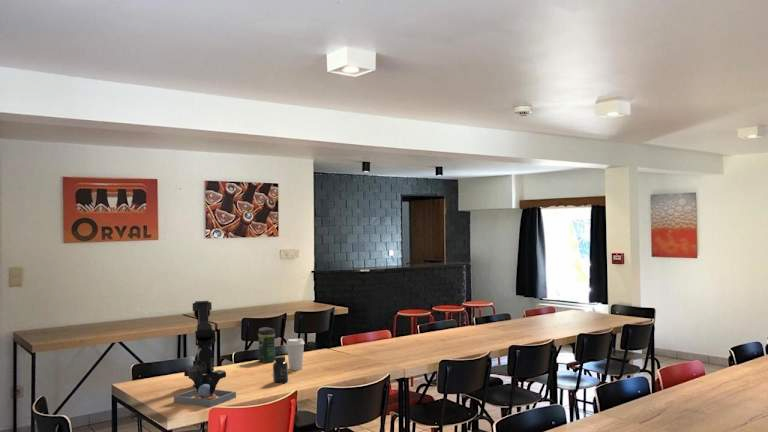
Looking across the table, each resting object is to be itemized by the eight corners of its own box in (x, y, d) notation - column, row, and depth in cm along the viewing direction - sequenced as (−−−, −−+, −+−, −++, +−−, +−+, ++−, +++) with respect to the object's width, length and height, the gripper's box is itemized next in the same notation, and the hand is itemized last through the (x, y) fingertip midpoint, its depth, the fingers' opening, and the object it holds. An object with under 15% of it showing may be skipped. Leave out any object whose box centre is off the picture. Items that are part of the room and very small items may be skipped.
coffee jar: (277, 361, 352) (277, 327, 353) (264, 363, 347) (264, 329, 348) (269, 359, 360) (268, 325, 360) (256, 360, 355) (255, 327, 355)
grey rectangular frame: (173, 401, 272) (173, 396, 272) (200, 393, 286) (200, 387, 286) (210, 407, 263) (210, 400, 263) (236, 397, 277) (235, 391, 277)
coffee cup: (301, 371, 327) (301, 341, 328) (283, 370, 329) (283, 341, 330) (307, 367, 337) (307, 338, 337) (290, 366, 339) (289, 338, 339)
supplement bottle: (288, 380, 308) (288, 355, 308) (287, 383, 301) (286, 357, 301) (274, 380, 308) (274, 355, 308) (272, 384, 301) (272, 358, 301)
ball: (195, 399, 273) (194, 385, 273) (204, 396, 279) (204, 382, 279) (205, 400, 270) (205, 386, 271) (215, 397, 276) (215, 383, 276)
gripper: (174, 358, 272) (174, 395, 272) (208, 362, 263) (208, 400, 263) (193, 354, 282) (193, 389, 282) (226, 357, 273) (227, 394, 273)
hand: (205, 393), depth 275 cm, fingers open, 7 cm apart
